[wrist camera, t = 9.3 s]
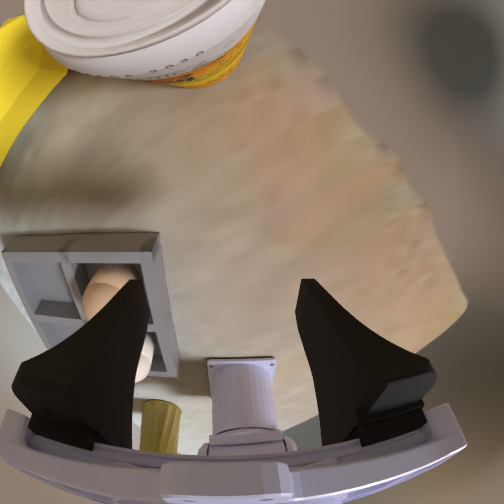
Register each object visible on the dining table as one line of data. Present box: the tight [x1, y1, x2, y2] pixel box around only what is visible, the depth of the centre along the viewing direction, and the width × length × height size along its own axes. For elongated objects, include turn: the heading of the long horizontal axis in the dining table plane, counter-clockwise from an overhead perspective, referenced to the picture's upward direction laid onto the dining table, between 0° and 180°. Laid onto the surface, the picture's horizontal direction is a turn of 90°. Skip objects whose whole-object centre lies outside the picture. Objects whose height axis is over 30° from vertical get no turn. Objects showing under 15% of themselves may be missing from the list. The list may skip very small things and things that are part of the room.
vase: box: [140, 400, 181, 454], centre depth 31 cm, size 6×6×14 cm
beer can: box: [24, 0, 265, 89], centre depth 9 cm, size 6×6×15 cm
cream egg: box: [135, 332, 156, 383], centre depth 25 cm, size 4×4×6 cm
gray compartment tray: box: [1, 232, 180, 378], centre depth 24 cm, size 16×16×3 cm
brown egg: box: [82, 263, 141, 321], centre depth 21 cm, size 4×4×6 cm
